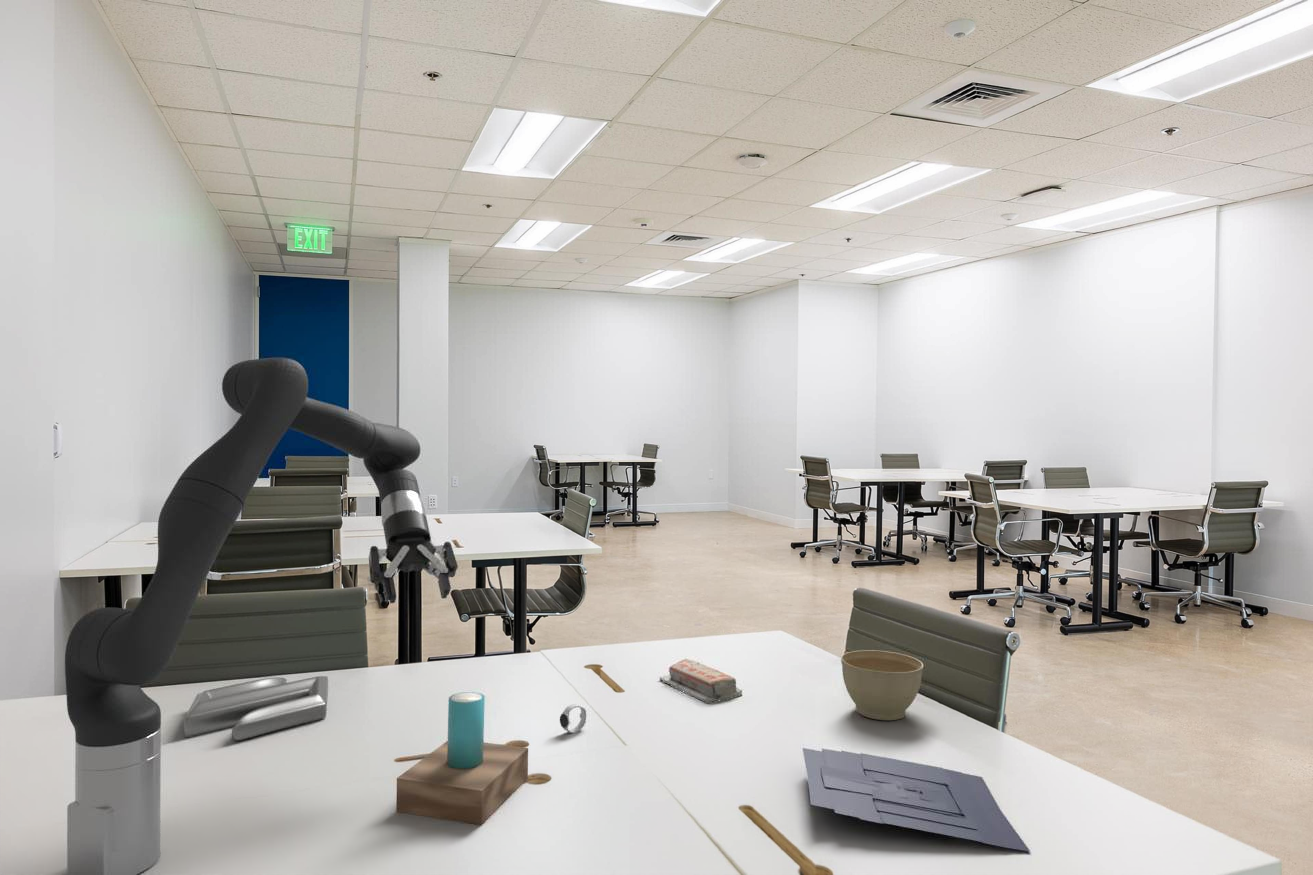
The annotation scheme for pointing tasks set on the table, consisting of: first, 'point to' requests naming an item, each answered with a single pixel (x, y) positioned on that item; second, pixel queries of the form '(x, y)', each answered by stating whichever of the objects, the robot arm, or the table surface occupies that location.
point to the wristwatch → (565, 721)
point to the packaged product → (701, 681)
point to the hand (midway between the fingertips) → (419, 598)
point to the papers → (908, 796)
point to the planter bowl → (881, 682)
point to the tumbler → (465, 730)
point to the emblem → (257, 707)
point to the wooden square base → (462, 784)
